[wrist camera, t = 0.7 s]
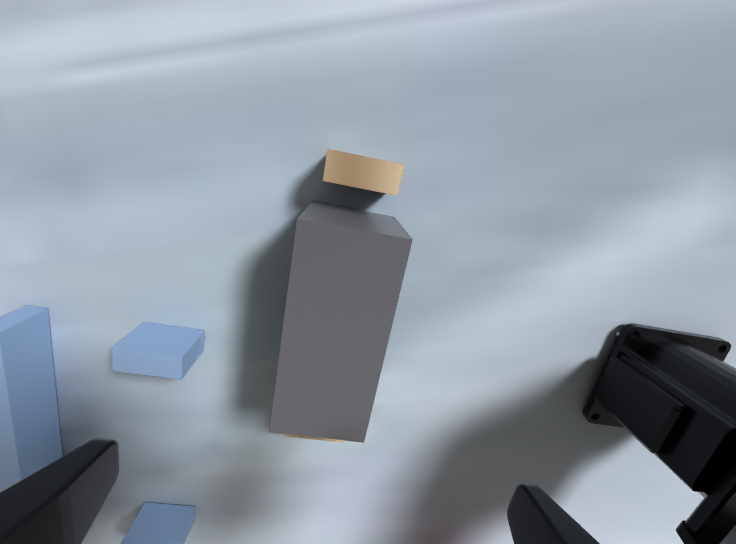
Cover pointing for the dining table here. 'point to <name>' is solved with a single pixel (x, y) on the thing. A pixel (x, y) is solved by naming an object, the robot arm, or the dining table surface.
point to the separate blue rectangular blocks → (40, 409)
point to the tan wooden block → (360, 185)
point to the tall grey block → (337, 320)
